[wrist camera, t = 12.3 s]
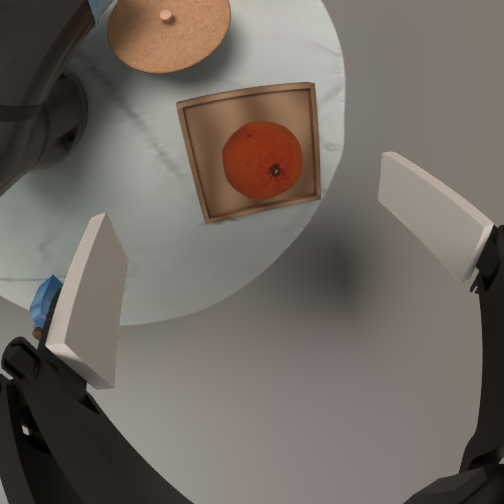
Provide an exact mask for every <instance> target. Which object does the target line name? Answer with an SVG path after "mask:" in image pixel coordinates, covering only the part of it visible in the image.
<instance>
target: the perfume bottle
mask: <svg viewBox="0 0 504 504" xmlns="http://www.w3.org/2000/svg"><path fill="white" fill-rule="evenodd" d="M61 287H63V284H62V283H61V282H60V281H59V280H58V279H57V278H56V277H55V276H54V275H52V276H51V277H50V278H49V279H47V280H46V281H45V282H44V283H43V284H42V285H41V286H40V287H39V288H38V291H37V293H36V295H35V297H34V300H33V302H32V304H31V307H30V312H31V316H32V320H33V321H34V322H35V324H34V327H33V329H34V331H33V332H32V334H33V336H34V337H35V338H36V339H37V340H39V341H40V337H41V333H42V330H43V326H44V323H45V321H46V316H47V313H48V312H49V307H50V304H51V301H52V298H53V297H54V295H55V294H56V292H57V291H58V289H59V288H61Z"/></svg>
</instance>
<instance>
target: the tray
mask: <svg viewBox="0 0 504 504" xmlns="http://www.w3.org/2000/svg"><path fill="white" fill-rule="evenodd" d="M176 107H177V111H178V116H179V120H180V125H181V129H182V133H183V137H184V142H185V146H186V150H187V154H188V158H189V162H190V166H191V170H192V174H193V178H194V182H195V186H196V190H197V194H198V197H199V201H200V205H201V209H202V212H203V216H204V220H205V224H208V223H213V222H217V221H221V220H225V219H230V218H234V217H238V216H243V215H247V214H252V213H256V212H261V211H266V210H270V209H275V208H280V207H284V206H289V205H294V204H299V203H304V202H309V201H314V200H319V199H321V186H320V153H319V133H318V117H317V103H316V91H315V83H310V82H300V83H287V84H276V85H267V86H259V87H251V88H244V89H238V90H232V91H226V92H221V93H216V94H211V95H206V96H201V97H197V98H192V99H188V100H184V101H180V102H177V103H176ZM254 121H261V122H274V123H277V124H279V125H282V126H284V127H286V128H287V129H288V130H290V131H291V132H292V133H293V134H294V135H295V137H296V138H297V140H298V141H299V143H300V147H301V150H302V154H303V166H302V173H301V176H300V178H299V180H298V181H297V182H296V183H295V184H294V186H293V187H291V188H290V189H289V190H287V191H285V192H284V193H282V194H280V195H277V196H275V197H273V198H269V199H264V200H255V199H251V198H248V197H246V196H244V195H242V194H241V193H239V192H238V191H236V190H235V189H234V188H233V187H232V186H231V185H230V183H229V182H228V181H227V179H226V176H225V173H224V167H223V156H222V150H223V147H224V145H225V144H226V143H227V141H228V139H229V138H230V136H231V135H232V134H233V133H234V132H236V131H237V130H238V129H239V128H241V127H242V126H243V125H245V124H247V123H249V122H254Z"/></svg>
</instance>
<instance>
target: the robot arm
mask: <svg viewBox="0 0 504 504" xmlns="http://www.w3.org/2000/svg"><path fill="white" fill-rule="evenodd" d="M113 1H114V0H0V197H1V196H2V195H3V194H4V193H5V192H6V191H7V190H8V189H9V188H10V187H11V186H12V185H13V184H15V183H16V182H17V181H18V180H19V179H20V178H21V177H23V176H24V175H25V174H26V173H27V172H28V171H30V170H36V169H43V168H47V167H50V166H52V165H54V164H56V163H58V162H59V161H61V160H62V159H63V158H65V157H66V156H67V155H68V154H69V153H70V152H71V151H72V150H73V149H74V148H75V147H76V145H77V144H78V142H79V141H80V139H81V137H82V135H83V132H84V129H85V126H86V122H87V115H88V104H87V98H86V94H85V91H84V88H83V86H82V84H81V83H80V81H79V80H78V79H77V77H76V76H75V75H73V74H72V73H71V72H69V71H67V70H65V67H66V65H67V64H68V62H69V60H70V59H71V57H72V56H73V54H74V53H75V51H76V50H77V48H78V47H79V46H80V44H81V43H82V41H83V40H84V38H85V37H86V36H87V34H88V33H89V32H90V30H91V29H92V28H95V26H96V25H97V24H98V22H99V18H100V17H101V15H102V14H103V13H104V12H105V10H106V9H107V8H108V7H109V5H110V4H111V3H112V2H113ZM378 201H380V203H382V204H383V205H384V206H385V207H386V208H387V209H388V210H389V211H390V212H391V213H393V214H394V215H395V216H396V217H397V218H398V219H399V220H400V221H401V222H402V223H403V224H404V225H405V226H406V227H407V228H408V229H410V231H411V232H412V233H413V234H414V235H415V236H416V237H417V238H418V239H419V240H420V241H421V242H422V243H423V244H424V245H425V246H426V247H427V248H428V249H429V250H430V251H431V252H432V253H433V254H434V255H435V256H436V257H437V258H438V260H440V262H441V263H442V264H443V265H444V266H445V267H446V268H447V269H448V271H449V272H450V273H451V274H452V275H453V276H454V278H455V279H456V280H457V281H458V282H459V283H462V282H464V281H465V280H468V279H469V278H470V277H471V275H472V273H473V271H474V269H475V267H477V269H478V270H479V273H478V275H477V277H476V279H475V280H474V282H473V284H472V286H471V288H470V292H472V291H473V290H474V288H475V286H478V288H477V290H476V291H475V293H476V294H479V299H480V310H481V322H482V342H483V343H482V345H483V364H482V387H481V399H480V408H479V416H478V424H477V428H476V432H475V434H474V435H473V437H472V438H471V439H470V441H469V442H468V444H467V446H466V448H465V451H464V454H463V458H462V463H461V466H460V470H459V473H458V474H456V475H453V476H449V477H445V478H439V479H437V480H436V481H434V482H433V483H431V484H430V485H428V486H427V487H425V488H424V489H422V490H421V491H419V492H417V493H415V494H414V495H413V496H412V497H410V498H409V499H408V500H407V501H406V502H405V503H403V504H504V464H499V462H500V461H501V459H502V458H503V457H504V225H500V226H499V228H497V227H496V226H495V225H494V223H493V222H492V221H490V220H489V219H488V218H487V217H486V216H485V215H483V214H482V213H481V212H480V211H479V210H477V209H476V208H475V207H474V206H472V205H471V204H470V203H469V202H468V201H466V200H465V199H464V198H462V197H461V196H460V195H458V194H457V193H456V192H454V191H453V190H452V189H450V188H449V187H448V186H446V185H445V184H443V183H442V182H440V181H439V180H438V179H436V178H435V177H433V176H432V175H430V174H429V173H427V172H426V171H424V170H423V169H421V168H420V167H418V166H417V165H415V164H414V163H412V162H410V161H409V160H407V159H405V158H404V157H402V156H400V155H399V154H397V153H395V152H384V153H382V165H381V176H380V186H379V194H378ZM128 261H129V260H128V258H127V256H126V254H125V252H124V250H123V248H122V246H121V244H120V242H119V240H118V237H117V235H116V233H115V231H114V229H113V227H112V225H111V223H110V220H109V218H108V216H107V214H106V213H103V214H100V215H97V216H94V217H91V220H90V222H89V224H88V226H87V228H86V230H85V232H84V235H83V237H82V239H81V241H80V244H79V246H78V248H77V251H76V253H75V255H74V258H73V260H72V263H71V265H70V268H69V271H68V273H67V276H66V279H65V281H64V284H63V287H61V288H59V289H58V291H57V292H56V294H55V295H54V297H53V298H52V301H51V304H50V307H49V312H48V313H47V316H46V321H45V323H44V326H43V330H42V333H41V337H40V341H39V345H38V349H35V348H34V347H33V346H32V345H31V344H30V343H29V342H28V341H27V340H26V339H25V338H24V337H17V338H15V339H13V340H12V341H11V342H10V343H9V344H8V346H7V347H6V348H5V351H4V353H3V356H2V361H1V364H2V369H4V370H5V371H6V372H7V373H8V374H9V375H11V376H12V377H13V379H11V380H9V379H8V378H6V377H5V376H4V375H3V374H0V478H1V482H2V485H3V488H4V491H5V494H6V497H7V500H8V503H9V504H193V503H192V502H191V501H189V500H188V499H187V498H186V497H184V496H183V495H182V494H181V493H180V492H179V491H178V490H176V489H175V488H174V487H173V486H172V485H171V484H169V483H168V482H167V481H166V480H165V479H164V478H163V477H162V476H161V475H160V474H159V473H158V472H157V471H156V470H154V469H153V468H152V467H151V466H150V465H149V464H148V463H147V462H146V461H145V460H144V459H143V458H142V456H140V454H139V453H138V452H137V451H136V450H135V449H134V448H133V447H132V446H131V445H130V443H129V442H128V441H127V440H126V439H125V438H124V437H123V436H122V434H121V433H120V432H119V431H118V430H117V428H116V427H115V426H114V425H113V423H112V422H111V421H110V420H109V418H108V417H107V416H106V415H105V413H104V412H103V411H102V409H101V408H100V407H99V405H98V404H97V403H96V401H95V400H94V398H93V397H92V396H91V395H90V394H89V393H88V392H87V391H86V386H87V383H89V384H90V385H91V386H93V387H94V388H95V389H109V388H114V387H115V367H116V352H117V351H116V350H117V340H118V330H119V320H120V312H121V304H122V297H123V290H124V284H125V278H126V272H127V266H128ZM22 426H24V427H26V428H27V429H28V431H29V435H26V434H24V433H23V429H22Z"/></svg>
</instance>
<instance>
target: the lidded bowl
mask: <svg viewBox="0 0 504 504" xmlns="http://www.w3.org/2000/svg"><path fill="white" fill-rule="evenodd" d="M230 19H231V10H230V4H229V1H228V0H118V2H117V3H116V5H115V6H114V8H113V10H112V13H111V15H110V18H109V22H108V40H109V43H110V46H111V48H112V50H113V52H114V53H115V55H116V56H117V57H118V58H119V59H120V60H121V61H122V62H124V63H125V64H126V65H128V66H130V67H132V68H133V69H136V70H139V71H142V72H148V73H159V74H162V73H172V72H176V71H181V70H184V69H186V68H189V67H191V66H193V65H195V64H197V63H199V62H201V61H202V60H204V59H205V58H207V57H208V56H209V55H210V54H211V53H212V52H214V50H215V49H216V48H217V47H218V46H219V45H220V43H221V42H222V40H223V39H224V37H225V35H226V33H227V31H228V28H229V24H230Z"/></svg>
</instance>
